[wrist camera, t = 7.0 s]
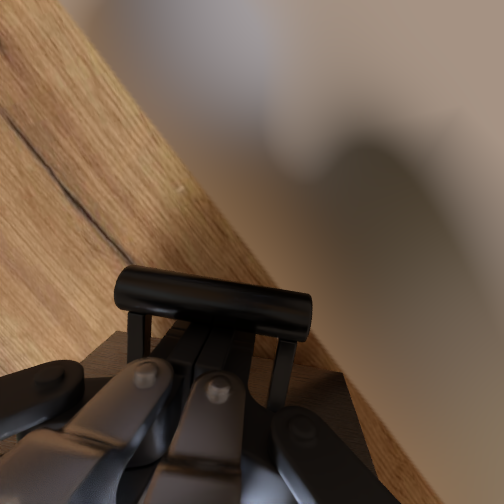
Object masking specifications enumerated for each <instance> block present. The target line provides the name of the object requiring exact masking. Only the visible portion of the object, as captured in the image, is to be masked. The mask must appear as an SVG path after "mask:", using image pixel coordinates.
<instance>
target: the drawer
mask: <svg viewBox="0 0 504 504" xmlns="http://www.w3.org/2000/svg"><path fill="white" fill-rule="evenodd" d="M114 301H115V304H116V306H117V307H118V308H119V309H121V310H126V311H129V312H128V325H127V332H122V331H116V332H115V333H114V334H112V335H111V336H110V337H109V338H108V339H107V340H106V341H104V342H103V343H102V344H101V345H100V346H99V347H98V348H96V349H95V350H94V351H93V352H92V353H91V354H89V355H88V356H87V357H86V358H85V359H84V360H83V361H81V362H80V364H81V365H82V366H83V368H84V378H98V377H112V376H115V375H116V374H117V373H118V372H119V371H120V370H121V369H122V368H123V367H124V366H125V365H127V364H128V363H130V362H132V361H134V360H137V359H140V358H145V357H148V356H149V355H150V354H151V352H152V351H153V350H154V348H155V347H156V346H157V345H158V343H159V342H160V341H161V340H162V339H159V338H154V337H151V324H152V315H153V316H159V317H165V318H170V319H176V320H181V321H187V322H192V323H198V324H203V325H209V326H214V327H220V328H226V329H231V330H237V331H242V332H248V333H253V334H259V335H264V336H270V337H275V338H277V344H276V349H275V355H274V360H272V359H266V358H261V357H255V356H252V362H251V368H250V374H249V380H248V389H249V392H250V394H251V396H252V397H253V398H254V399H255V400H256V401H257V402H258V403H259V404H260V405H261V406H263V407H265V408H266V409H268V410H270V411H272V412H274V413H276V412H277V411H278V410H279V409H281V408H283V407H286V406H300V407H304V408H306V409H309V410H311V411H313V412H314V413H316V414H317V415H318V416H320V417H321V418H322V419H323V420H324V421H325V422H326V424H327V425H328V426H329V427H330V428H331V429H332V430H333V431H334V432H335V433H336V434H337V435H338V436H339V438H340V439H341V440H342V441H343V442H344V443H345V444H346V445H347V446H348V447H349V448H350V449H351V450H352V452H353V453H354V454H355V455H356V456H357V457H358V458H359V459H360V460H361V461H362V462H363V463H364V464H365V466H366V467H367V468H368V469H369V470H370V471H371V472H372V473H373V474H374V475H375V476H376V477H377V474H376V471H375V468H374V465H373V462H372V459H371V456H370V453H369V450H368V447H367V444H366V441H365V438H364V435H363V432H362V429H361V426H360V423H359V420H358V417H357V414H356V411H355V408H354V405H353V403H352V400H351V397H350V394H349V391H348V388H347V385H346V382H345V379H344V376H343V373H341V372H336V371H330V370H325V369H320V368H314V367H309V366H304V365H298V364H293V362H294V357H295V352H296V347H297V341H298V342H305V341H306V339H307V337H308V335H309V331H310V327H311V320H312V298H311V296H310V295H309V294H306V293H300V292H294V291H288V290H282V289H276V288H270V287H264V286H258V285H252V284H247V283H241V282H235V281H229V280H223V279H217V278H211V277H205V276H199V275H193V274H187V273H181V272H175V271H169V270H163V269H157V268H151V267H145V266H139V265H129V266H127V267H126V268H124V269H123V271H122V272H121V273H120V275H119V277H118V279H117V281H116V285H115V289H114ZM175 433H176V432H175ZM174 436H175V434H174ZM173 439H174V437H173ZM173 439H172V441H171V443H170V446H169V449H168V453H169V451H170V448H171V445H172V442H173ZM16 443H17V439H16V434H15V435H13V436H11V437H9V438H6V439H4V440H2V441H0V455H2V454H4V453H6V452H7V451H8V450H9V449H11V448H12V447H13V446H14V445H15V444H16ZM377 478H378V477H377Z"/></svg>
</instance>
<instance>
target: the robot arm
mask: <svg viewBox="0 0 504 504" xmlns="http://www.w3.org/2000/svg"><path fill="white" fill-rule="evenodd" d="M255 337H256V334H253V333H248V332H242V331H237V330H231V329H226V328H220V327H214V326H209V325H203V324H198V323H192V322H187V321H181V320H177V321H176V322H175V323H174V324H173V326H172V327H171V329H169V331H168V332H167V333H166V335H165V336H164V337H163V338H162V340H161V341H160V342H159V343H158V345H157V346H156V347H155V348H154V350H153V351H152V352H151V354H150V355H149V356H148V357H145V358H140V359H137V360H134V361H132V362H130V363H128V364H127V365H125V366H124V367H123V368H122V369H121V370H120V371H119V372H118V373H117V374H116V375H115V376H112V377H98V378H84V368H83V366H82V365H81V364H80V363H78V362H76V361H72V360H56V361H51V362H47V363H44V364H40V365H37V366H34V367H31V368H28V369H24V370H21V371H18V372H15V373H12V374H8V375H5V376H2V377H0V441H2V440H4V439H6V438H9V437H11V436H13V435H15V434H16V439H17V443H16V444H15V445H14V446H13V447H12V448H11V449H9V450H8V451H7V452H6V453H4V454H2V455H0V504H401V503H400V502H399V501H398V500H397V499H396V498H395V497H394V496H393V495H392V494H391V492H390V491H389V490H388V489H387V488H386V487H385V486H384V485H383V484H382V483H381V482H380V481H379V480H378V478H377V477H376V476H375V475H374V474H373V473H372V472H371V471H370V470H369V469H368V468H367V467H366V466H365V464H364V463H363V462H362V461H361V460H360V459H359V458H358V457H357V456H356V455H355V454H354V453H353V452H352V450H351V449H350V448H349V447H348V446H347V445H346V444H345V443H344V442H343V441H342V440H341V439H340V438H339V436H338V435H337V434H336V433H335V432H334V431H333V430H332V429H331V428H330V427H329V426H328V425H327V424H326V422H325V421H324V420H323V419H322V418H321V417H320V416H318V415H317V414H316V413H314V412H313V411H311V410H309V409H306V408H304V407H300V406H286V407H283V408H281V409H279V410H278V411H277V412H276V413H274V412H272V411H270V410H268V409H266V408H265V407H263V406H261V405H260V404H259V403H258V402H257V401H256V400H255V399H254V398H253V397H252V396H251V394H250V392H249V389H248V380H249V374H250V368H251V362H252V356H253V349H254V343H255ZM175 432H176V433H175ZM174 434H175V436H174ZM173 437H174V439H173ZM172 439H173V442H172V445H171V448H170V451H169V453H168V449H169V446H170V443H171V441H172Z"/></svg>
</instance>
